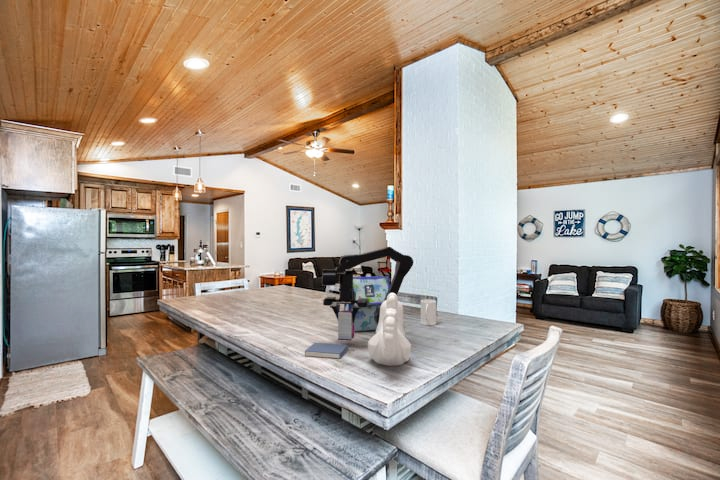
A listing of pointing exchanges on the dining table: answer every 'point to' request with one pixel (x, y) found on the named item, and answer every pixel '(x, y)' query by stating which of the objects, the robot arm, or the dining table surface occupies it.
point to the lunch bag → (375, 293)
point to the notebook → (326, 350)
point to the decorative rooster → (390, 335)
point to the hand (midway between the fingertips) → (346, 322)
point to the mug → (428, 312)
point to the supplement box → (345, 325)
